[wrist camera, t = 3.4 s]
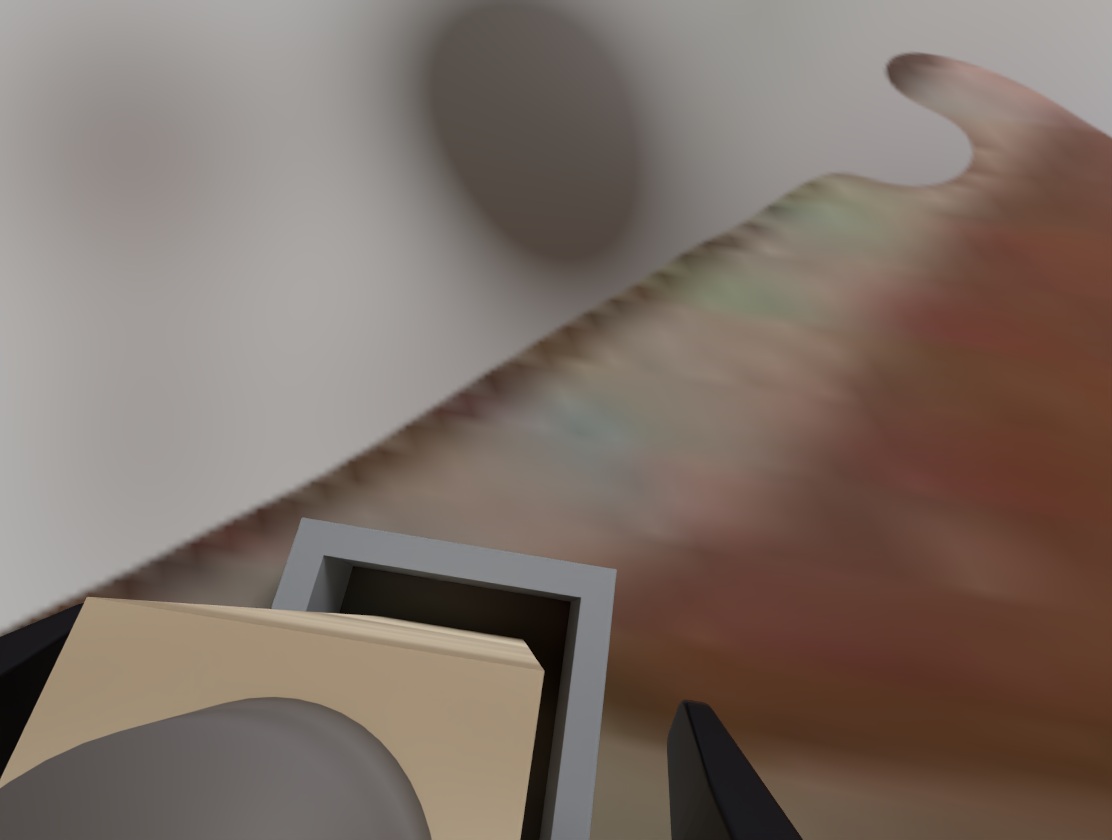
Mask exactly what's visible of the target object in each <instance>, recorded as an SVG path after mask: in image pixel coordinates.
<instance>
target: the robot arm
mask: <svg viewBox="0 0 1112 840" xmlns="http://www.w3.org/2000/svg"><path fill="white" fill-rule="evenodd" d="M83 604H84V603H81V604H78V605H75V606H72V607H70V608H68V609H65V610H63V611H61V612H58V613H56V614H53V615H51V616H49V617H46V618H44V619H42V620H39V621H37V622H34V623H32V624H30V625H27V626H25V627H23V628H20V629H18V630H15V631H13V632H11V633H8V634H6V635H3V636H1V637H0V779H1V777H2V775H3V772H4V770H5V768H6V766H7V764H8V762H9V760H10V758H11V756H12V754H13V751H14V749H15V747H16V745H17V743H18V741H19V739H20V737H21V735H22V733H23V730H24V728H25V726H26V724H27V722H28V720H29V718H30V716H31V714H32V712H33V709H34V707H35V705H36V703H37V701H38V699H39V697H40V695H41V693H42V691H43V688H44V686H45V684H46V682H47V680H48V678H49V676H50V674H51V672H52V670H53V667H54V665H55V663H56V661H57V659H58V657H59V655H60V653H61V651H62V649H63V646H64V644H65V642H66V640H67V638H68V636H69V634H70V632H71V630H72V628H73V625H74V623H75V621H76V619H77V617H78V615H79V613H80V611H81V609H82V607H83ZM667 758H668V777H669V797H670V816H671V836H672V840H803V839H802V838H801V836H800V835H799V833H798V832H797V830H796V829H795V828H794V826H793V825H792V823H791V822H790V820H789V819H788V817H787V816H786V815H785V813H784V812H783V810H782V809H781V807H780V806H779V805H778V803H777V802H776V800H775V799H774V797H773V796H772V794H771V793H770V792H769V790H768V789H767V787H766V786H765V784H764V783H763V782H762V780H761V779H760V777H759V776H758V774H757V773H756V771H755V770H754V769H753V767H752V766H751V764H750V763H749V761H748V760H747V759H746V757H745V756H744V754H743V753H742V751H741V750H740V748H739V747H738V746H737V744H736V743H735V741H734V740H733V738H732V737H731V735H730V734H729V733H728V731H727V730H726V728H725V727H724V725H723V724H722V723H721V721H720V720H719V718H718V717H717V715H716V714H715V712H714V711H713V710H712V708H711V707H710V706H709V705H708V704H706V703H703V702H698V701H692V700H683V701H681V702H680V704H679V706H678V709H677V712H676V714H675V717H674V720H673V723H672V725H671V728H670V731H669V734H668V740H667Z"/></svg>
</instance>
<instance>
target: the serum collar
mask: <svg viewBox="0 0 1112 840" xmlns="http://www.w3.org/2000/svg"><path fill="white" fill-rule="evenodd" d="M353 566H356V567H362V568H368V569H375V570H381V571H387V572H393V573H399V574H405V575H411V576H417V577H423V578H429V579H435V580H441V581H448V582H454V583H460V584H466V585H472V586H478V587H484V588H490V589H496V590H502V591H508V592H515V593H521V594H527V595H533V596H539V597H545V598H551V599H557V600H563V601H569V602H571V603H570V611H569V618H568V626H567V634H566V641H565V649H564V656H563V664H562V671H561V679H560V687H559V694H558V702H557V709H556V717H555V725H554V732H553V740H552V747H551V755H550V763H549V770H548V778H547V785H546V793H545V800H544V808H543V816H542V823H541V831H540V838H539V840H589V836H590V826H591V816H592V806H593V797H594V787H595V777H596V767H597V757H598V747H599V738H600V728H601V718H602V708H603V698H604V688H605V679H606V669H607V659H608V649H609V639H610V629H611V619H612V610H613V600H614V590H615V580H616V569H610V568H604V567H598V566H592V565H586V564H580V563H574V562H568V561H562V560H556V559H550V558H544V557H538V556H532V555H526V554H520V553H514V552H508V551H502V550H496V549H489V548H483V547H477V546H471V545H465V544H459V543H453V542H447V541H441V540H435V539H429V538H423V537H417V536H411V535H405V534H399V533H393V532H387V531H381V530H375V529H369V528H363V527H357V526H351V525H344V524H338V523H332V522H326V521H320V520H314V519H308V518H302V519H301V522H300V525H299V528H298V531H297V534H296V537H295V540H294V543H293V546H292V549H291V552H290V555H289V557H288V560H287V563H286V566H285V569H284V572H283V575H282V578H281V581H280V584H279V587H278V590H277V592H276V595H275V598H274V601H273V604H272V607H271V609H277V610H292V611H307V612H322V613H337V614H339V613H340V609H341V606H342V603H343V599H344V596H345V592H346V589H347V586H348V582H349V579H350V575H351V572H352V568H353Z"/></svg>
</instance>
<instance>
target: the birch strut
mask: <svg viewBox="0 0 1112 840" xmlns="http://www.w3.org/2000/svg"><path fill="white" fill-rule="evenodd" d="M543 677H544V670H543V668H542V667H541V665H540V664H539V662H538V661H537V659H536V658H535V656H534V655H533V653H532V652H531V650H530V649H529V648H528V646H527V645H526V643H525V642H524V640H523V639H518V638H512V637H506V636H499V635H493V634H487V633H481V632H475V631H469V630H463V629H457V628H450V627H444V626H438V625H432V624H426V623H420V622H414V621H407V620H401V619H395V618H389V617H383V616H367V615H352V614H337V613H322V612H307V611H292V610H277V609H261V608H246V607H231V606H216V605H201V604H186V603H170V602H155V601H140V600H125V599H110V598H95V597H87V598H86V600H85V602H84V604H83V607H82V609H81V611H80V613H79V615H78V617H77V619H76V621H75V623H74V625H73V628H72V630H71V632H70V634H69V636H68V638H67V640H66V642H65V644H64V646H63V649H62V651H61V653H60V655H59V657H58V659H57V661H56V663H55V665H54V667H53V670H52V672H51V674H50V676H49V678H48V680H47V682H46V684H45V686H44V688H43V691H42V693H41V695H40V697H39V699H38V701H37V703H36V705H35V707H34V709H33V712H32V714H31V716H30V718H29V720H28V722H27V724H26V726H25V728H24V730H23V733H22V735H21V737H20V739H19V741H18V743H17V745H16V747H15V749H14V751H13V754H12V756H11V758H10V760H9V762H8V764H7V766H6V768H5V770H4V772H3V775H2V777H1V779H0V840H520V838H521V831H522V824H523V817H524V810H525V803H526V796H527V789H528V782H529V775H530V768H531V761H532V754H533V747H534V740H535V733H536V726H537V719H538V712H539V705H540V698H541V691H542V684H543Z"/></svg>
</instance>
